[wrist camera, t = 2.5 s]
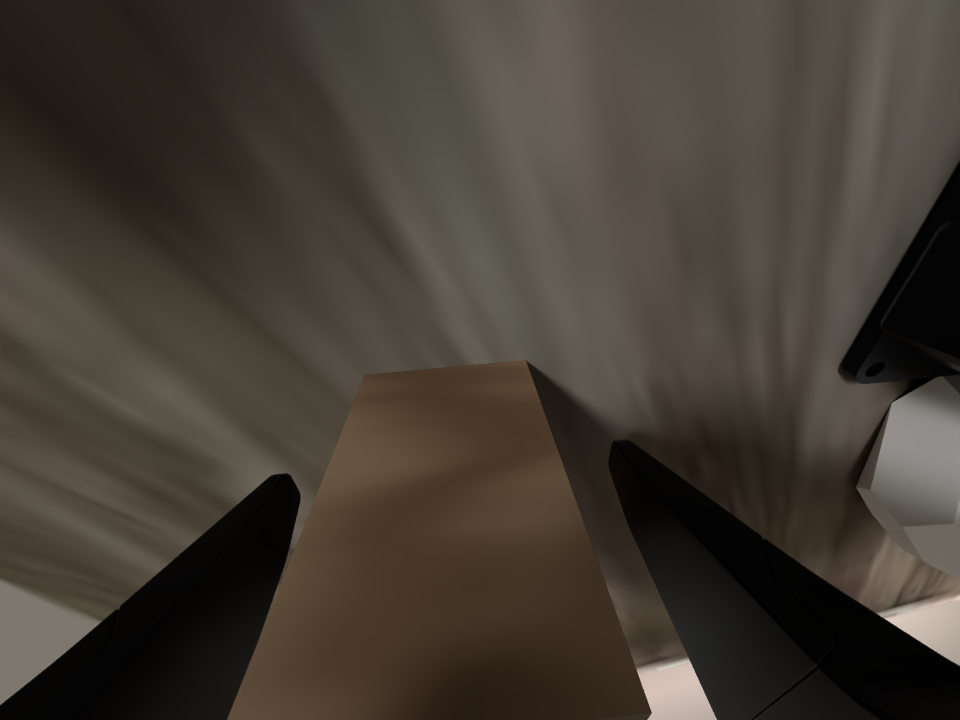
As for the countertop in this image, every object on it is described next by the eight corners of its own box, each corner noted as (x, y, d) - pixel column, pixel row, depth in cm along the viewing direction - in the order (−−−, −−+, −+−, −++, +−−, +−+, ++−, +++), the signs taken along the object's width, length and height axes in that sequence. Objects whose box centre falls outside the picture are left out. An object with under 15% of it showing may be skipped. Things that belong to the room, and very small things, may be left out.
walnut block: (525, 360, 9) (651, 712, 3) (524, 469, 12) (599, 790, 6) (364, 374, 9) (209, 767, 3) (396, 481, 12) (337, 822, 6)
